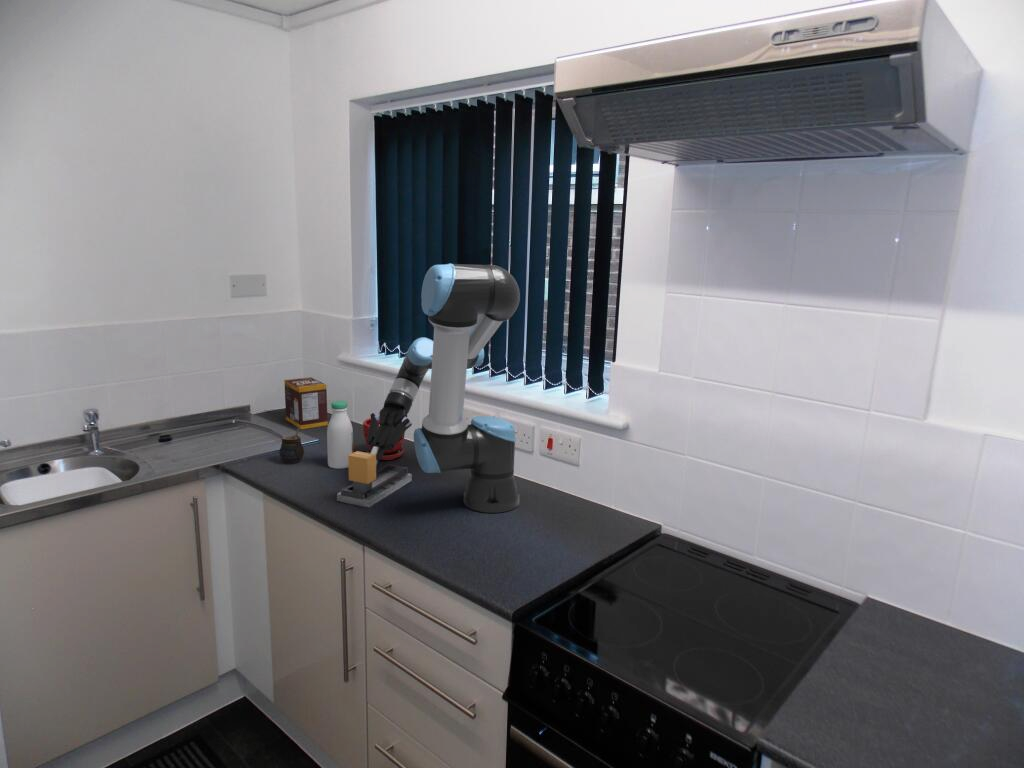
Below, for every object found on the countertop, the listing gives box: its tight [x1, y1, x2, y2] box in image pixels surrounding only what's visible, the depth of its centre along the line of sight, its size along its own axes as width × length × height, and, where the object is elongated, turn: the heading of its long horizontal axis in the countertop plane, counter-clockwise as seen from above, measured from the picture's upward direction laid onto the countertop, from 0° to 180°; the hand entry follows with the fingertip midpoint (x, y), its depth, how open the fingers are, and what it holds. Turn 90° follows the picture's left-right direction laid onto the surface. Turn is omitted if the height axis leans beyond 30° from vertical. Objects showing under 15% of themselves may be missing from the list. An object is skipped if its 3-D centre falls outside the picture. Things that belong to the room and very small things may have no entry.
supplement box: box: [284, 376, 329, 430], centre depth 248 cm, size 10×15×16 cm
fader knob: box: [348, 450, 377, 493], centre depth 179 cm, size 4×6×10 cm, turn 68°
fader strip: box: [336, 463, 413, 509], centre depth 186 cm, size 23×10×4 cm, turn 158°
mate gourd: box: [278, 427, 305, 465], centre depth 206 cm, size 7×8×10 cm
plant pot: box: [362, 417, 406, 461], centre depth 214 cm, size 13×13×12 cm
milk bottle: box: [326, 400, 355, 470], centre depth 203 cm, size 8×8×20 cm
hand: (368, 469), depth 182 cm, fingers closed
